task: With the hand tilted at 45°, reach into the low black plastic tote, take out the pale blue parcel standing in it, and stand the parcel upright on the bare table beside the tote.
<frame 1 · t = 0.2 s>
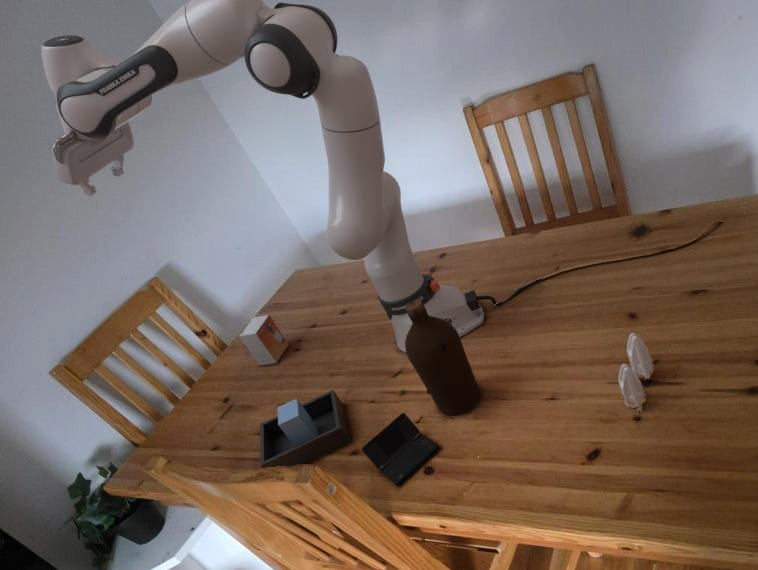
hand: (105, 184, 131), 54 cm above the table, tool tilted 30°, fingers open, 8 cm apart
small box: (275, 355, 161), on the table
parcel: (308, 439, 129), resting on tote
olive oil: (459, 399, 124), on the table
handheld gaming console: (406, 458, 116), on the table
tote: (309, 440, 129), on the table
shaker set: (639, 388, 110), on the table
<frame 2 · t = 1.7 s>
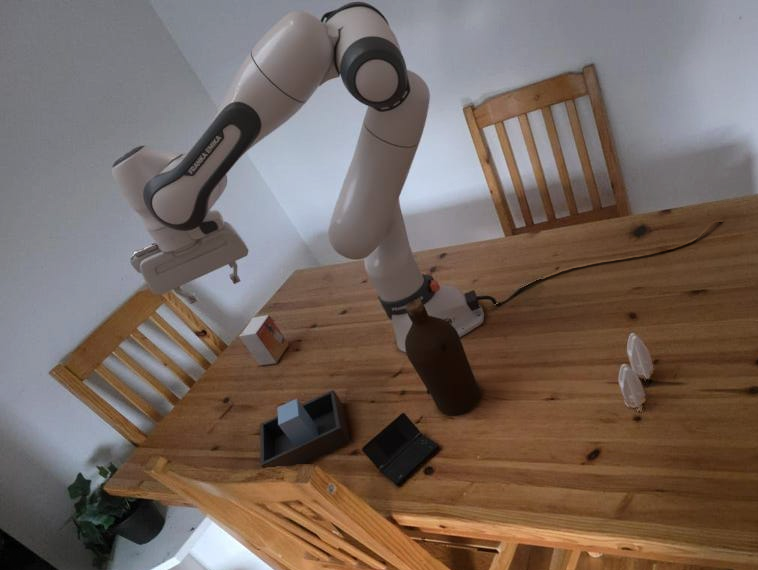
hand: (215, 291, 124), 32 cm above the table, tool pointing down, fingers open, 8 cm apart
nothing on the table moved.
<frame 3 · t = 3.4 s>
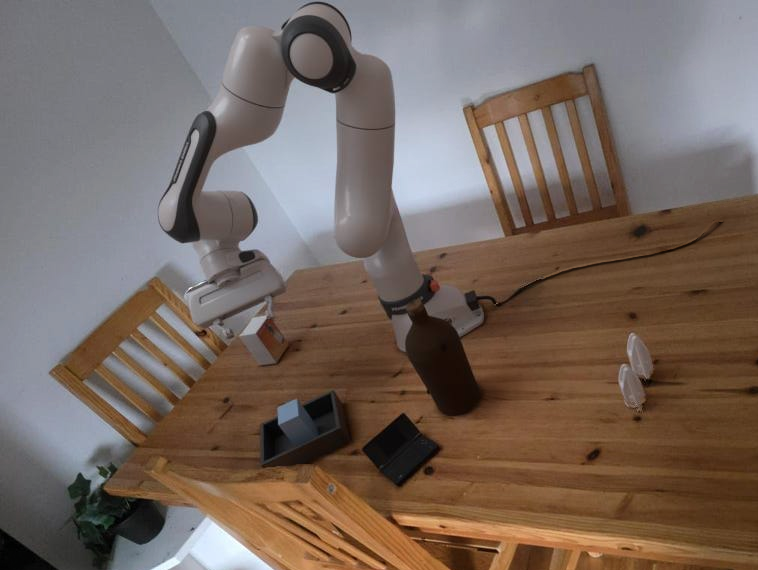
hand: (251, 328, 126), 23 cm above the table, tool tilted 45°, fingers open, 8 cm apart
nothing on the table moved.
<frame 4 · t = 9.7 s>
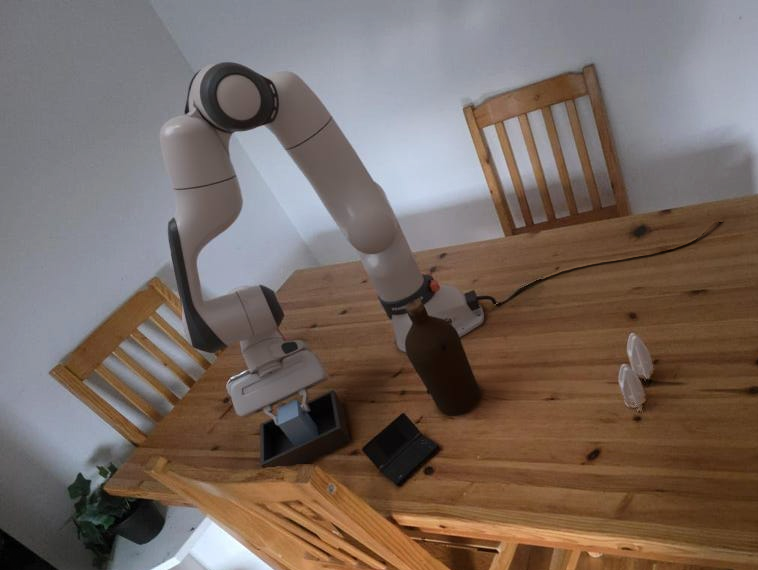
hand: (293, 418, 125), 7 cm above the table, tool tilted 45°, fingers closed on parcel, 4 cm apart
parcel: (308, 439, 129), resting on tote, touching gripper
everything else where it was.
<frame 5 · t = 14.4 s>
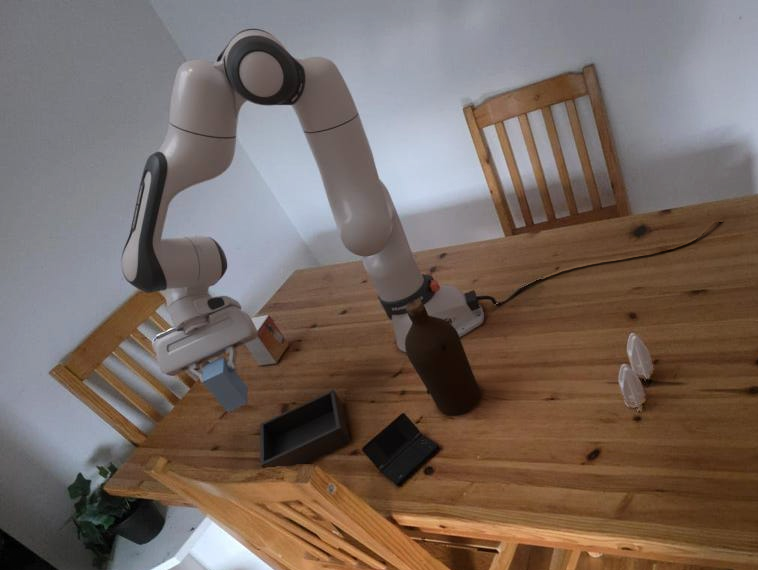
hand: (220, 376, 122), 20 cm above the table, tool tilted 45°, fingers closed on parcel, 4 cm apart
parcel: (237, 399, 126), point 13 cm above the table, touching gripper
everything else where it was.
when the fingers open (6 cm above the table, at t = 19.5 s): parcel stays where it is, on the table.
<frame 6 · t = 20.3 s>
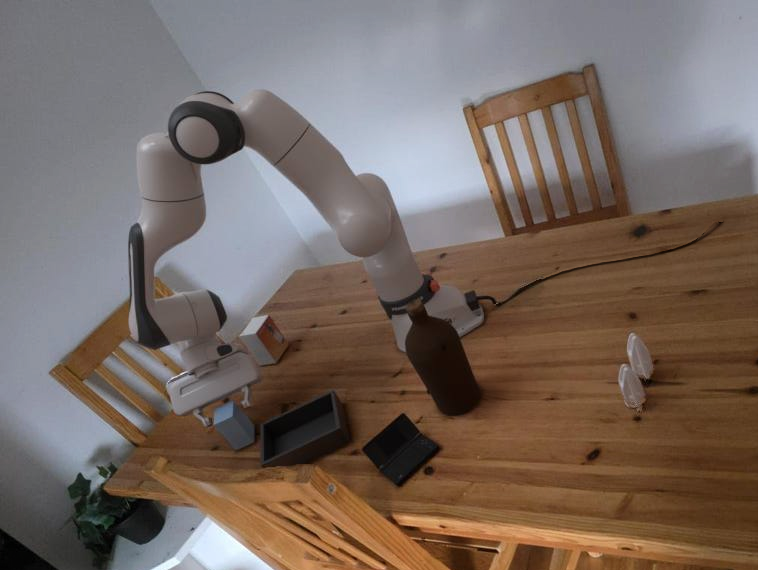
hand: (229, 416, 133), 7 cm above the table, tool tilted 45°, fingers open, 8 cm apart
parcel: (246, 438, 137), on the table
everything else where it was.
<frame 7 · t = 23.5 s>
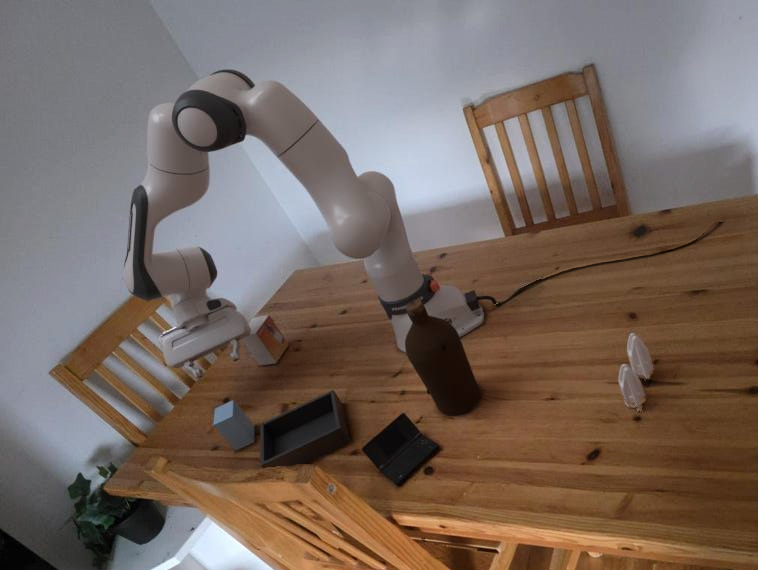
hand: (218, 368, 140), 12 cm above the table, tool tilted 45°, fingers open, 8 cm apart
nothing on the table moved.
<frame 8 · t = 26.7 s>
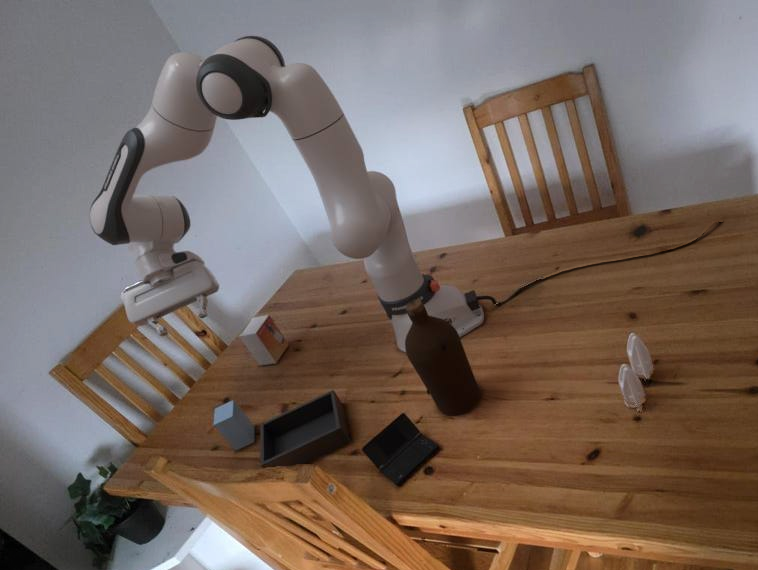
hand: (184, 325, 132), 25 cm above the table, tool tilted 45°, fingers open, 8 cm apart
nothing on the table moved.
at the end: parcel inside the target area (0.1 cm from its centre), on the table; parcel tilted 0°; parcel touching table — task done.
